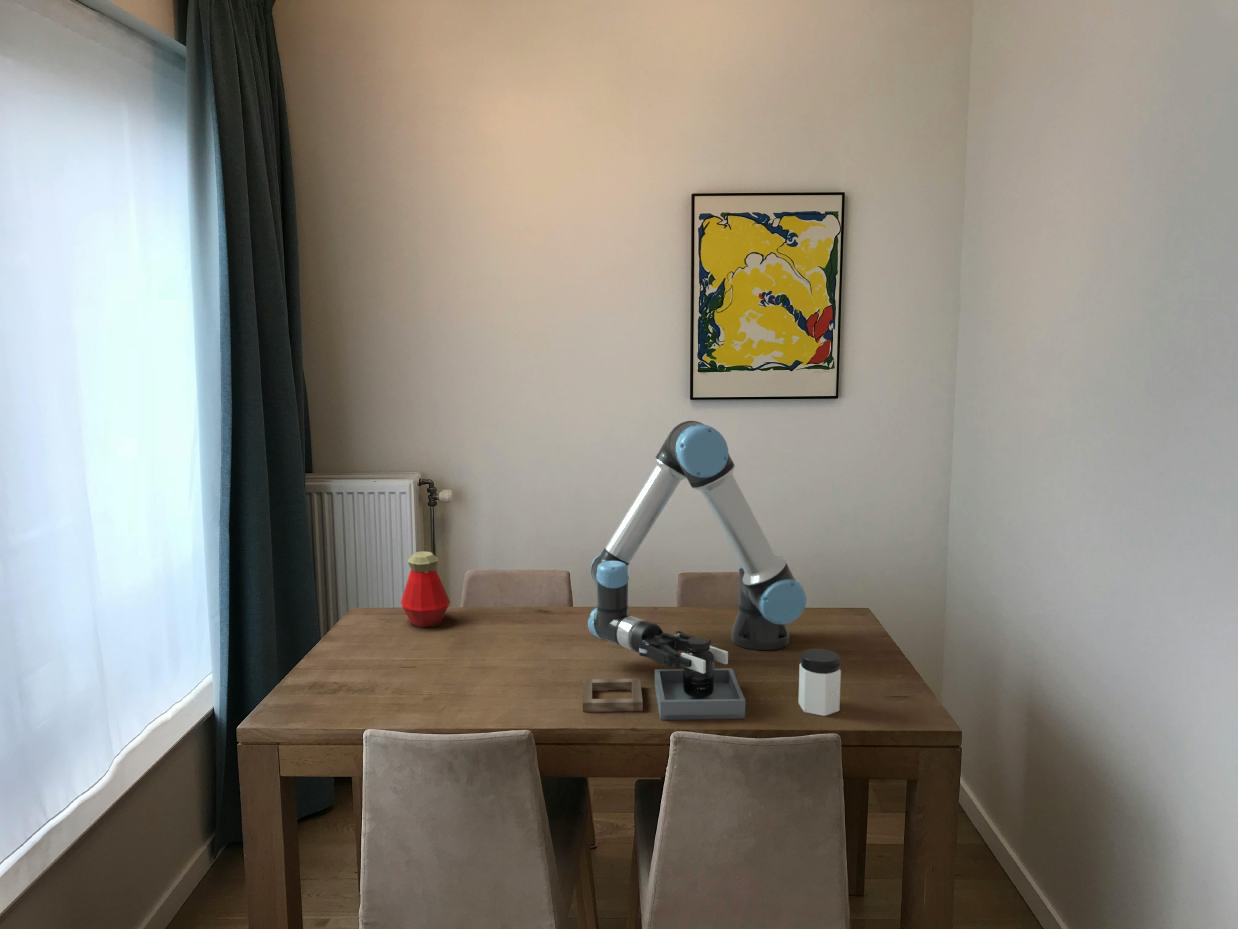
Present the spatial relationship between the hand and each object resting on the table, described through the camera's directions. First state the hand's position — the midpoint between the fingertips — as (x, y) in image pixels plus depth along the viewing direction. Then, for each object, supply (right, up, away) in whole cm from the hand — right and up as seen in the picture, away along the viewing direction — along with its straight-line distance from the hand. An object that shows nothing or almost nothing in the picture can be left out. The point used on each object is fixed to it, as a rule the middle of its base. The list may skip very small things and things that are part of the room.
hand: (715, 662), depth 187 cm
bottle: (-76, -2, +59) cm, 96 cm away
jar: (+23, -10, +2) cm, 25 cm away
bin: (-3, -10, +5) cm, 12 cm away
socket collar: (-22, -10, +7) cm, 25 cm away
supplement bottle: (-3, -8, +5) cm, 10 cm away
